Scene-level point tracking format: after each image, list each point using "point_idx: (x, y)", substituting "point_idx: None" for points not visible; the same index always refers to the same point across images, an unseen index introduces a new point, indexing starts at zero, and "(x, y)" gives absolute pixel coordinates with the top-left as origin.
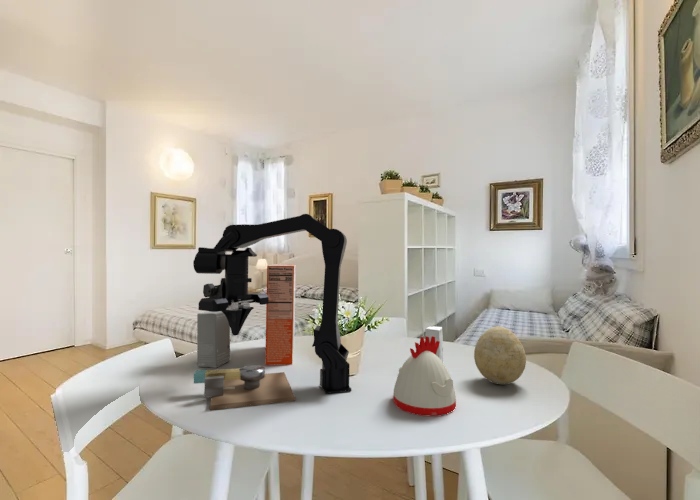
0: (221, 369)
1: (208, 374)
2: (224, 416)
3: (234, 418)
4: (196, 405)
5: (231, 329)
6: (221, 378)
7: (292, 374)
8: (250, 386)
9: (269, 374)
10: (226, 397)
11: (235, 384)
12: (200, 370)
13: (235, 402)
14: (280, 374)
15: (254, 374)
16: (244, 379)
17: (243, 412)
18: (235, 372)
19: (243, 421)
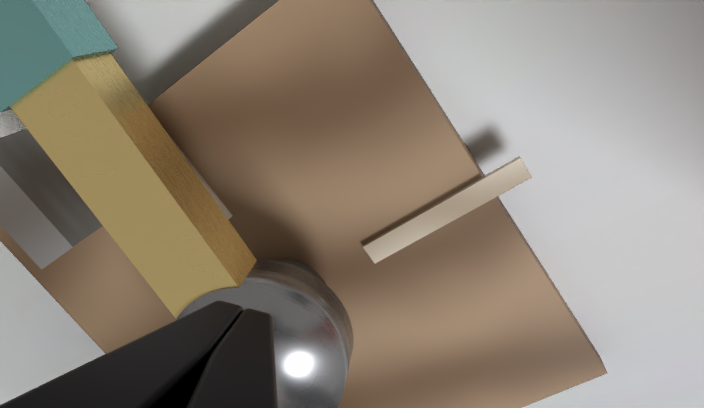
0: (147, 165)
1: (34, 127)
2: (4, 309)
3: (14, 352)
4: (8, 120)
5: (142, 351)
6: (33, 257)
7: (642, 392)
8: None
9: (533, 304)
10: (99, 250)
11: (280, 190)
12: (23, 26)
13: (76, 320)
14: (550, 368)
15: None
16: None
17: (71, 359)
18: (157, 288)
19: (15, 391)
